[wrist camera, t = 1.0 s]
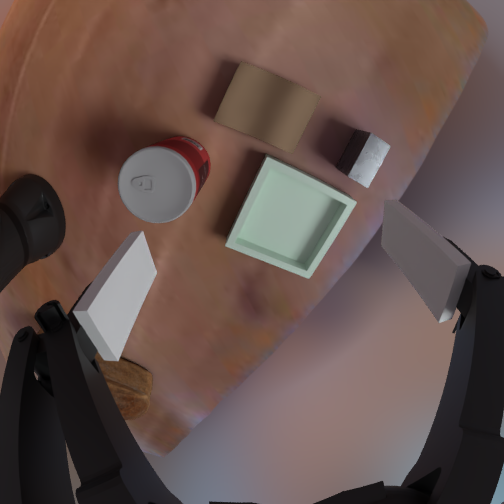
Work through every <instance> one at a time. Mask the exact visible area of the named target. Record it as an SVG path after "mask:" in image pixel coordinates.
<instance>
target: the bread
mask: <svg viewBox="0 0 504 504" xmlns="http://www.w3.org/2000/svg"><path fill="white" fill-rule="evenodd" d="M41 333H44V331H43V330H42V328H41V329H40V331H39V332H38V333H37V334H41ZM95 359H96V360H97V362H98V363H99V366H100V368H101V371H102V373H103V375H104V378H105V380H106V382H107V385H108V387H109V389H110V392H111V394H112V396H113V398H114V400H115V402H116V404H117V406H118V408H119V410H120V412H121V414H122V416H123V418H124V420H133V419H137V418H140V417H141V416H143V415H144V414H145V413H146V412H147V410H148V407H149V401H150V395H151V390H152V381H153V378H152V375H151V373H150V372H148V371H147V370H145V369H144V368H142V367H140V366H139V365H137V364H134V363H132V362H129V361H127V360H124V359H122V358H119V361H106V360H104V359H103V358H102V357H101V355H100V354H99V352H98V351H97V353H96V356H95Z"/></svg>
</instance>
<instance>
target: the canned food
mask: <svg viewBox="0 0 504 504" xmlns="http://www.w3.org/2000/svg"><path fill="white" fill-rule="evenodd" d="M209 172H210V158H209V155H208V153H207V151H206V150H205V148H204V147H203V146H202V145H201V144H200V143H199V142H197V141H196V140H194V139H191V138H188V137H173V138H169V139H166V140H163V141H161V142H158V143H155V144H152V145H150V146H147V147H145V148H143V149H141V150H139V151H137V152H135V153H134V154H133V155H131V156H130V157H129V158H128V159H127V160H126V161H125V163H124V164H123V166H122V168H121V170H120V173H119V177H118V190H119V194H120V197H121V199H122V201H123V203H124V205H125V206H126V207H127V209H128V210H129V211H130V212H131V213H132V214H133V215H135V216H136V217H138V218H140V219H142V220H144V221H147V222H152V223H165V222H169V221H172V220H175V219H176V218H178V217H180V216H181V215H182V214H183V213H184V212H185V211H186V210H187V209H188V208H189V207H190V205H191V204H192V202H193V201H194V199H195V198H196V196H197V194H198V193H199V191H200V189H201V188H202V186H203V185H204V183H205V181H206V180H207V178H208V175H209Z"/></svg>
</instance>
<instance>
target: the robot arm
mask: <svg viewBox="0 0 504 504" xmlns="http://www.w3.org/2000/svg"><path fill="white" fill-rule="evenodd" d="M65 227H66V226H65V216H64V211H63V207H62V205H61V202H60V200H59V197H58V196H57V194H56V192H55V191H54V189H53V188H52V186H51V185H50V184H49V183H48V182H47V181H46V180H44V179H43V178H41V177H39V176H37V175H32V174H30V175H25V176H23V177H21V178H19V179H17V180H15V181H14V182H13V183H12V184H11V185H10V186H9V188H8V189H7V191H6V192H5V193H4V194H3V195H2V196H1V197H0V292H1V291H2V290H3V289H4V288H5V287H6V286H7V285H8V284H9V282H10V281H11V280H12V279H13V278H14V277H15V276H16V275H17V274H18V273H19V272H20V271H21V270H22V269H23V268H24V267H25V266H26V265H27V264H30V263H33V262H35V261H37V260H39V259H44V258H46V257H48V256H50V255H51V254H53V253H54V252H55V251H56V250H57V249H58V248H59V247H60V245H61V244H62V242H63V239H64V236H65ZM381 246H382V247H383V248H384V250H385V251H386V252H387V253H388V255H389V256H390V257H391V258H392V260H393V261H394V262H395V263H396V265H397V266H398V267H399V268H400V270H401V271H402V272H403V274H404V275H405V276H406V277H407V279H408V280H409V282H410V283H411V284H412V285H413V287H414V288H415V290H416V291H417V292H418V294H419V295H420V296H421V298H422V299H423V301H424V302H425V303H426V305H427V306H428V308H429V309H430V311H431V312H432V314H433V315H434V317H435V318H436V319H437V321H438V322H439V323H440V322H443V321H446V320H450V319H452V317H453V315H454V312H455V310H456V307H457V309H458V310H459V311H460V313H461V314H460V316H459V318H458V321H457V323H456V325H455V328H454V330H453V333H455V331H456V336H455V342H454V347H453V353H452V358H451V362H450V367H449V371H448V375H447V379H446V383H445V387H444V390H443V394H442V397H441V401H440V404H439V407H438V410H437V413H436V416H435V419H434V422H433V425H432V427H431V430H430V433H429V435H428V438H427V441H426V443H425V446H424V448H423V450H422V452H421V455H420V457H419V459H418V461H417V463H416V464H415V465H414V467H413V468H412V469H411V471H410V472H409V473H408V475H407V476H406V478H405V480H404V482H403V483H402V485H401V486H384V483H383V481H380V482H377V483H374V484H370V485H367V486H363V487H360V488H356V489H352V490H347V491H343V492H341V493H338V494H336V495H334V496H331V497H329V498H327V499H324V500H322V501H319V502H316V503H314V504H490V503H491V501H492V498H493V495H494V492H495V490H496V487H497V484H498V481H499V477H500V474H501V471H502V467H503V464H504V438H503V437H501V436H500V428H501V423H502V417H503V410H504V277H502V276H501V274H500V273H499V272H498V270H496V269H495V268H493V267H491V266H488V265H480V266H478V265H477V264H476V263H475V262H474V261H473V260H472V259H471V258H470V257H468V255H466V254H465V253H464V252H463V251H462V250H461V249H460V248H458V246H457V245H455V244H454V243H453V242H452V241H451V240H449V239H447V238H445V237H443V236H441V235H440V234H439V233H437V231H435V230H434V229H433V228H432V227H430V226H429V225H428V224H427V223H426V222H424V221H423V220H422V219H421V218H419V217H418V216H417V215H416V214H414V213H413V212H412V211H410V210H409V209H408V208H407V207H405V206H404V205H402V204H401V203H400V202H399V201H397V200H385V201H384V217H383V230H382V241H381ZM156 274H157V271H156V268H155V266H154V263H153V260H152V257H151V254H150V251H149V248H148V245H147V242H146V239H145V236H144V233H143V231H137V232H131V233H130V234H129V236H128V237H127V238H126V239H125V240H124V242H123V243H122V244H121V245H120V247H119V248H118V249H117V250H116V252H115V253H114V254H113V256H112V257H111V258H110V259H109V261H108V262H107V263H106V265H105V266H104V267H103V269H102V270H101V271H100V273H99V274H98V275H97V277H96V278H95V280H94V281H92V282H91V283H90V284H89V285H88V286H87V287H86V288H85V290H84V291H83V292H82V295H80V297H79V298H78V300H77V301H76V302H75V304H74V305H73V307H72V308H71V310H70V311H69V313H68V314H67V315H66V313H65V312H64V310H63V308H62V306H61V305H60V303H59V301H57V300H52V301H49V302H47V303H45V304H44V305H42V306H41V307H40V308H39V309H38V310H37V312H36V313H35V317H34V318H35V319H36V321H37V322H38V324H39V325H40V327H41V328H42V330H43V331H44V333H41V334H36V332H35V331H34V329H33V328H32V327H30V326H28V327H24V328H22V329H20V330H19V331H18V332H17V334H16V335H15V337H14V339H13V342H12V345H11V349H10V353H9V356H8V360H7V364H6V369H5V373H4V377H3V383H2V388H1V393H0V504H75V500H74V495H73V491H72V486H71V480H70V474H69V468H68V461H67V452H66V443H67V446H68V449H69V452H70V455H71V458H72V461H73V463H74V466H75V469H76V471H77V474H78V476H79V478H80V481H81V486H80V487H79V488H77V489H76V497H77V501H78V503H79V504H182V502H181V501H180V500H179V499H178V498H176V497H175V496H174V495H173V494H172V493H171V492H170V491H169V490H168V489H167V488H166V487H165V485H164V484H163V482H162V481H161V480H160V478H159V477H158V475H157V474H156V472H155V471H154V469H153V468H152V466H151V465H150V463H149V462H148V460H147V459H146V457H145V455H144V454H143V452H142V450H141V449H140V447H139V445H138V444H137V442H136V440H135V439H134V437H133V435H132V433H131V431H130V430H129V428H128V426H127V424H126V422H125V420H124V418H123V416H122V414H121V412H120V410H119V408H118V406H117V404H116V402H115V400H114V398H113V396H112V394H111V392H110V389H109V387H108V385H107V382H106V380H105V378H104V375H103V373H102V371H101V368H100V366H99V363H98V362H97V360H96V359H95V356H96V353H97V351H98V352H99V354H100V355H101V357H102V358H103V359H104V360H106V361H119V358H120V356H121V353H122V351H123V348H124V346H125V343H126V341H127V339H128V336H129V334H130V331H131V329H132V327H133V324H134V322H135V320H136V318H137V315H138V313H139V311H140V308H141V306H142V304H143V302H144V300H145V297H146V295H147V293H148V291H149V289H150V287H151V285H152V282H153V280H154V278H155V276H156ZM34 372H35V373H36V374H37V375H38V381H37V379H36V377H35V375H34ZM65 440H66V442H65ZM209 504H257V503H252V502H251V503H234V502H232V503H231V502H209ZM501 504H504V502H502V503H501Z"/></svg>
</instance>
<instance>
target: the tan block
mask: <svg viewBox="0 0 504 504" xmlns="http://www.w3.org/2000/svg"><path fill="white" fill-rule="evenodd" d="M320 98H321V96H319V95H317V94H315V93H313V92H311V91H309V90H307V89H305V88H303V87H301V86H299V85H297V84H295V83H293V82H291V81H288V80H286V79H284V78H282V77H279V76H277V75H275V74H272V73H270V72H268V71H265V70H263V69H260V68H258V67H255V66H253V65H250V64H247V63H245V62H242V61H241V63H240V65H239V67H238V69H237V71H236V73H235V75H234V77H233V79H232V81H231V83H230V85H229V87H228V89H227V92H226V94H225V96H224V98H223V100H222V103H221V105H220V107H219V109H218V112H217V114H216V116H215V118H214V122H217V123H219V124H222V125H225V126H227V127H230V128H232V129H235V130H238V131H240V132H242V133H245V134H247V135H250V136H252V137H255V138H257V139H259V140H262V141H264V142H266V143H268V144H271V145H273V146H275V147H277V148H280V149H282V150H284V151H286V152H288V153H290V154H293V152H294V150H295V148H296V146H297V144H298V142H299V140H300V138H301V136H302V134H303V132H304V130H305V128H306V126H307V124H308V122H309V120H310V118H311V116H312V114H313V112H314V110H315V108H316V106H317V104H318V102H319V100H320Z"/></svg>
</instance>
